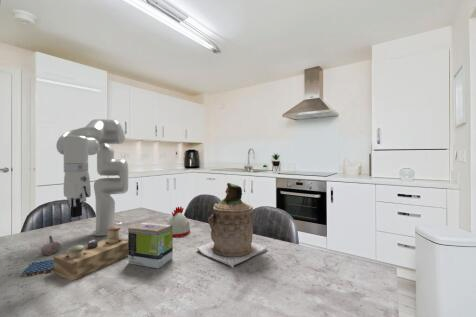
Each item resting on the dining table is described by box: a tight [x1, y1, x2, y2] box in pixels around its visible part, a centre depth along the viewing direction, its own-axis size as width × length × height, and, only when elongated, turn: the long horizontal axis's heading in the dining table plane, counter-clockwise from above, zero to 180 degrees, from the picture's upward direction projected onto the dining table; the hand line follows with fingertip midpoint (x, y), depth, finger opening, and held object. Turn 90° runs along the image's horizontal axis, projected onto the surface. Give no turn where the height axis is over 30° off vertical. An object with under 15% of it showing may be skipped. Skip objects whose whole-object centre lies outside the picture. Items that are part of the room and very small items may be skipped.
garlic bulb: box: [40, 235, 61, 256], centre depth 100 cm, size 8×7×8 cm
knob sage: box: [67, 244, 85, 260], centre depth 84 cm, size 5×5×8 cm
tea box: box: [127, 221, 174, 269], centre depth 92 cm, size 15×10×15 cm
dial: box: [86, 239, 99, 249], centre depth 91 cm, size 4×4×3 cm
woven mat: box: [19, 258, 54, 278], centre depth 86 cm, size 10×11×2 cm
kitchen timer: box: [166, 206, 191, 238], centre depth 127 cm, size 14×14×15 cm
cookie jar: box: [195, 182, 268, 269], centre depth 102 cm, size 25×25×32 cm
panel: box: [53, 237, 128, 281], centre depth 90 cm, size 24×12×6 cm, turn 154°
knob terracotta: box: [107, 226, 121, 245], centre depth 97 cm, size 5×5×8 cm
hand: (76, 216), depth 84 cm, fingers closed
